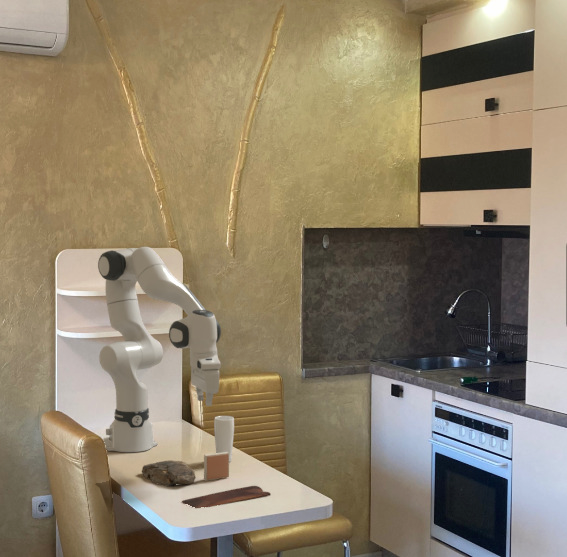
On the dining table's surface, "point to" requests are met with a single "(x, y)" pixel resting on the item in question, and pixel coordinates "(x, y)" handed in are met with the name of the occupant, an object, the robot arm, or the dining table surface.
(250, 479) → the dining table surface
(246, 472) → the dining table surface
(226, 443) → the drinking glass
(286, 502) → the dining table surface
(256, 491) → the wooden tablet
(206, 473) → the tile
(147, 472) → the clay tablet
